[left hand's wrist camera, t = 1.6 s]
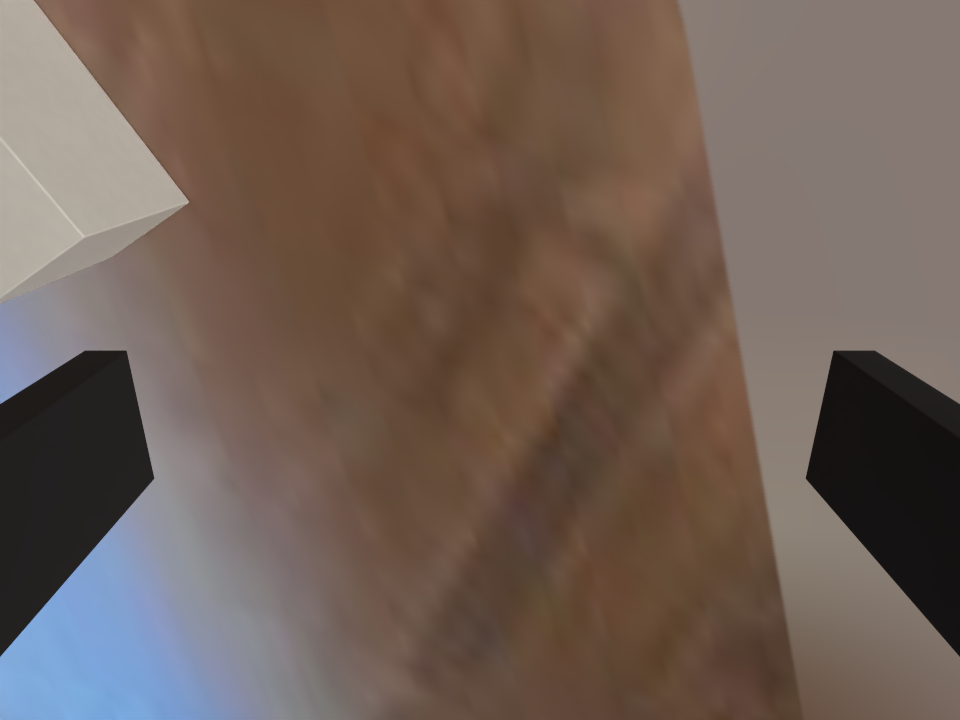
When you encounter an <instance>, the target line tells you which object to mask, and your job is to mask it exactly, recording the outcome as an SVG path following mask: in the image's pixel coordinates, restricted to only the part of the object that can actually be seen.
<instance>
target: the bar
mask: <svg viewBox="0 0 960 720" xmlns="http://www.w3.org/2000/svg"><path fill="white" fill-rule="evenodd" d="M188 203H189V201H188V200H187V198H186V197H185V196H184V195H183V193H182V192H181V191H180V189H179V188H178V187H177V185H176V184H175V183H174V182H173V180H172V179H171V178H170V176H169V175H168V174H167V173H166V171H165V170H164V169H163V167H162V166H161V165H160V163H159V162H158V161H157V160H156V158H155V157H154V156H153V154H152V153H151V152H150V150H149V149H148V148H147V147H146V145H145V144H144V143H143V141H142V140H141V139H140V137H139V136H138V135H137V134H136V132H135V131H134V130H133V128H132V127H131V126H130V125H129V123H128V122H127V121H126V119H125V118H124V117H123V115H122V114H121V113H120V112H119V110H118V109H117V108H116V106H115V105H114V104H113V102H112V101H111V100H110V99H109V97H108V96H107V95H106V93H105V92H104V91H103V89H102V88H101V87H100V86H99V84H98V83H97V82H96V80H95V79H94V78H93V77H92V75H91V74H90V73H89V71H88V70H87V69H86V67H85V66H84V65H83V64H82V62H81V61H80V60H79V58H78V57H77V56H76V54H75V53H74V52H73V51H72V49H71V48H70V47H69V45H68V44H67V43H66V42H65V40H64V39H63V38H62V36H61V35H60V34H59V32H58V31H57V30H56V29H55V27H54V26H53V25H52V23H51V22H50V21H49V19H48V18H47V17H46V16H45V14H44V13H43V12H42V10H41V9H40V8H39V6H38V5H37V4H36V3H35V1H34V0H0V303H3V302H5V301H8V300H10V299H12V298H15V297H17V296H20V295H22V294H25V293H27V292H29V291H32V290H34V289H37V288H39V287H41V286H44V285H46V284H49V283H51V282H53V281H56V280H58V279H61V278H63V277H66V276H68V275H70V274H73V273H75V272H78V271H80V270H82V269H85V268H87V267H90V266H92V265H94V264H97V263H99V262H102V261H104V260H106V259H109V258H111V257H113V256H114V255H116V254H117V253H118V252H120V251H121V250H123V249H124V248H125V247H127V246H128V245H130V244H131V243H133V242H134V241H135V240H137V239H138V238H140V237H141V236H142V235H144V234H145V233H147V232H148V231H150V230H151V229H152V228H154V227H155V226H157V225H158V224H160V223H161V222H162V221H164V220H165V219H167V218H168V217H169V216H171V215H172V214H174V213H175V212H177V211H178V210H179V209H181V208H182V207H184V206H185V205H186V204H188Z"/></svg>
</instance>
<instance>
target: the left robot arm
mask: <svg viewBox="0 0 960 720" xmlns="http://www.w3.org/2000/svg"><path fill="white" fill-rule="evenodd" d="M153 479H154V475H153V471H152V466H151V461H150V457H149V452H148V448H147V443H146V438H145V434H144V429H143V425H142V420H141V415H140V411H139V406H138V402H137V397H136V392H135V388H134V383H133V379H132V374H131V369H130V365H129V360H128V356H127V351H84V352H82V353H81V354H79V355H78V356H76V357H74V358H73V359H71V360H70V361H68V362H66V363H65V364H63V365H62V366H60V367H59V368H57V369H55V370H54V371H52V372H51V373H49V374H47V375H46V376H44V377H43V378H41V379H40V380H38V381H36V382H35V383H33V384H32V385H30V386H28V387H27V388H25V389H24V390H22V391H20V392H19V393H17V394H16V395H14V396H13V397H11V398H9V399H8V400H6V401H5V402H3V403H1V404H0V656H1V655H2V654H3V653H4V652H5V650H6V649H7V648H8V647H9V646H10V645H11V644H12V642H13V641H14V640H15V639H16V638H17V637H18V635H19V634H20V633H21V632H22V631H23V630H24V629H25V627H26V626H27V625H28V624H29V623H30V622H31V620H32V619H33V618H34V617H35V616H36V615H37V613H38V612H39V611H40V610H41V609H42V608H43V607H44V605H45V604H46V603H47V602H48V601H49V600H50V598H51V597H52V596H53V595H54V594H55V593H56V592H57V590H58V589H59V588H60V587H61V586H62V585H63V583H64V582H65V581H66V580H67V579H68V578H69V577H70V575H71V574H72V573H73V572H74V571H75V570H76V568H77V567H78V566H79V565H80V564H81V563H82V561H83V560H84V559H85V558H86V557H87V556H88V555H89V553H90V552H91V551H92V550H93V549H94V548H95V546H96V545H97V544H98V543H99V542H100V541H101V540H102V538H103V537H104V536H105V535H106V534H107V533H108V531H109V530H110V529H111V528H112V527H113V526H114V524H115V523H116V522H117V521H118V520H119V519H120V518H121V516H122V515H123V514H124V513H125V512H126V511H127V509H128V508H129V507H130V506H131V505H132V504H133V503H134V501H135V500H136V499H137V498H138V497H139V496H140V494H141V493H142V492H143V491H144V490H145V489H146V487H147V486H148V485H149V484H150V483H151V482H152V481H153ZM806 479H807V481H808V482H809V483H810V484H811V485H812V486H813V487H814V489H815V490H816V491H817V492H818V493H819V494H820V496H821V497H822V498H823V499H824V500H825V501H826V502H827V504H828V505H829V506H830V507H831V508H832V509H833V511H834V512H835V513H836V514H837V515H838V516H839V517H840V519H841V520H842V521H843V522H844V523H845V524H846V526H847V527H848V528H849V529H850V530H851V531H852V533H853V534H854V535H855V536H856V537H857V538H858V539H859V541H860V542H861V543H862V544H863V545H864V546H865V548H866V549H867V550H868V551H869V552H870V553H871V555H872V556H873V557H874V558H875V559H876V560H877V561H878V563H879V564H880V565H881V566H882V567H883V568H884V570H885V571H886V572H887V573H888V574H889V575H890V577H891V578H892V579H893V580H894V581H895V582H896V583H897V585H898V586H899V587H900V588H901V589H902V590H903V592H904V593H905V594H906V595H907V596H908V597H909V598H910V600H911V601H912V602H913V603H914V604H915V605H916V607H917V608H918V609H919V610H920V611H921V612H922V614H923V615H924V616H925V617H926V618H927V619H928V620H929V622H930V623H931V624H932V625H933V626H934V627H935V629H936V630H937V631H938V632H939V633H940V634H941V635H942V637H943V638H944V639H945V640H946V641H947V642H948V643H949V645H950V646H951V647H952V648H953V649H954V650H955V652H956V653H957V654H958V655H959V656H960V404H959V403H957V402H955V401H954V400H952V399H951V398H949V397H947V396H946V395H944V394H943V393H941V392H940V391H938V390H936V389H935V388H933V387H932V386H930V385H928V384H927V383H925V382H924V381H922V380H920V379H919V378H917V377H916V376H914V375H913V374H911V373H909V372H908V371H906V370H905V369H903V368H901V367H900V366H898V365H897V364H895V363H894V362H892V361H890V360H889V359H887V358H886V357H884V356H882V355H881V354H879V353H878V352H876V351H833V356H832V360H831V365H830V370H829V374H828V379H827V383H826V388H825V392H824V397H823V402H822V406H821V411H820V415H819V420H818V425H817V429H816V434H815V438H814V443H813V448H812V452H811V457H810V461H809V466H808V471H807V475H806Z"/></svg>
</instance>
